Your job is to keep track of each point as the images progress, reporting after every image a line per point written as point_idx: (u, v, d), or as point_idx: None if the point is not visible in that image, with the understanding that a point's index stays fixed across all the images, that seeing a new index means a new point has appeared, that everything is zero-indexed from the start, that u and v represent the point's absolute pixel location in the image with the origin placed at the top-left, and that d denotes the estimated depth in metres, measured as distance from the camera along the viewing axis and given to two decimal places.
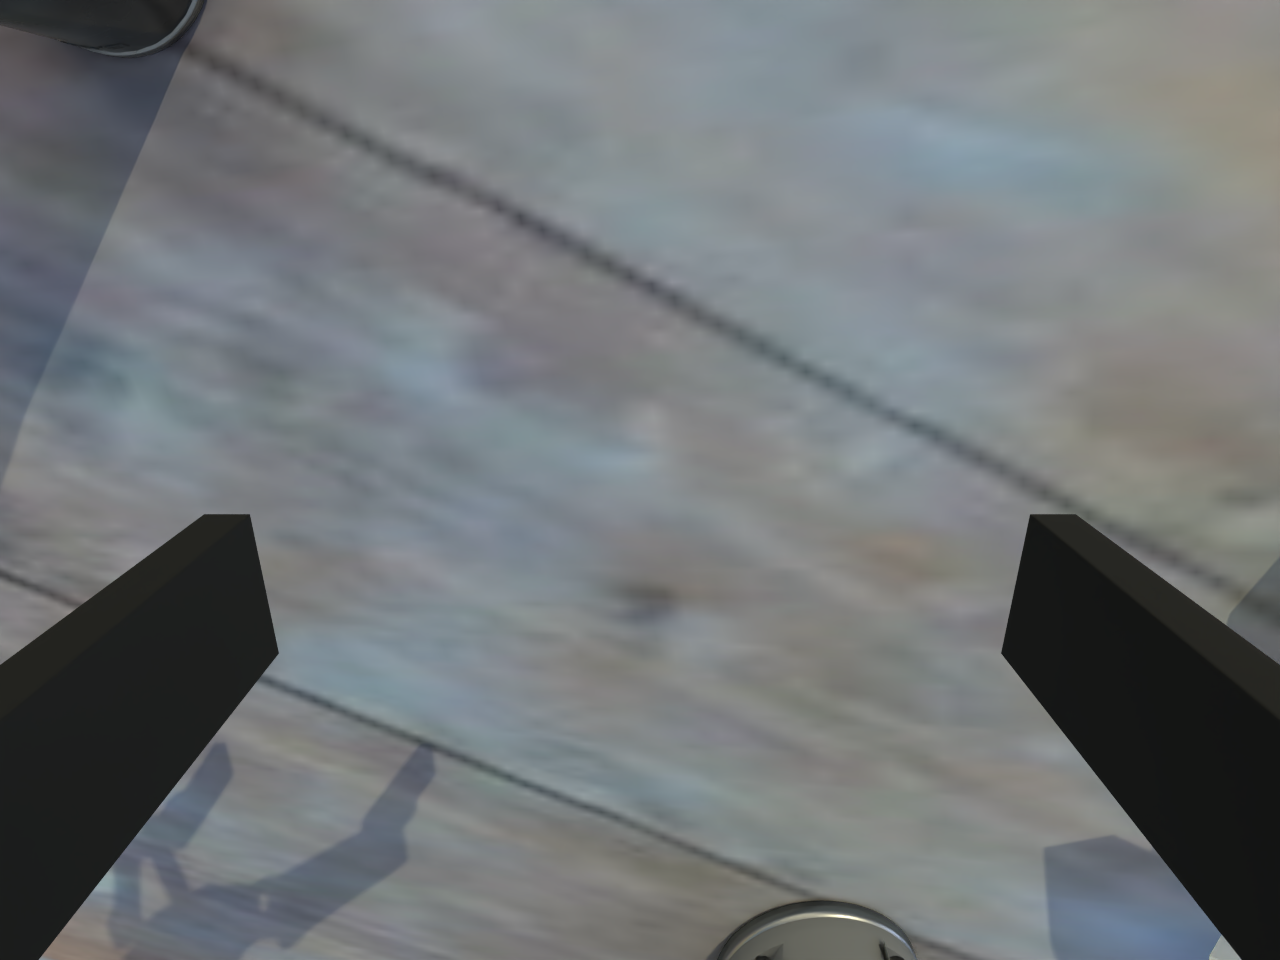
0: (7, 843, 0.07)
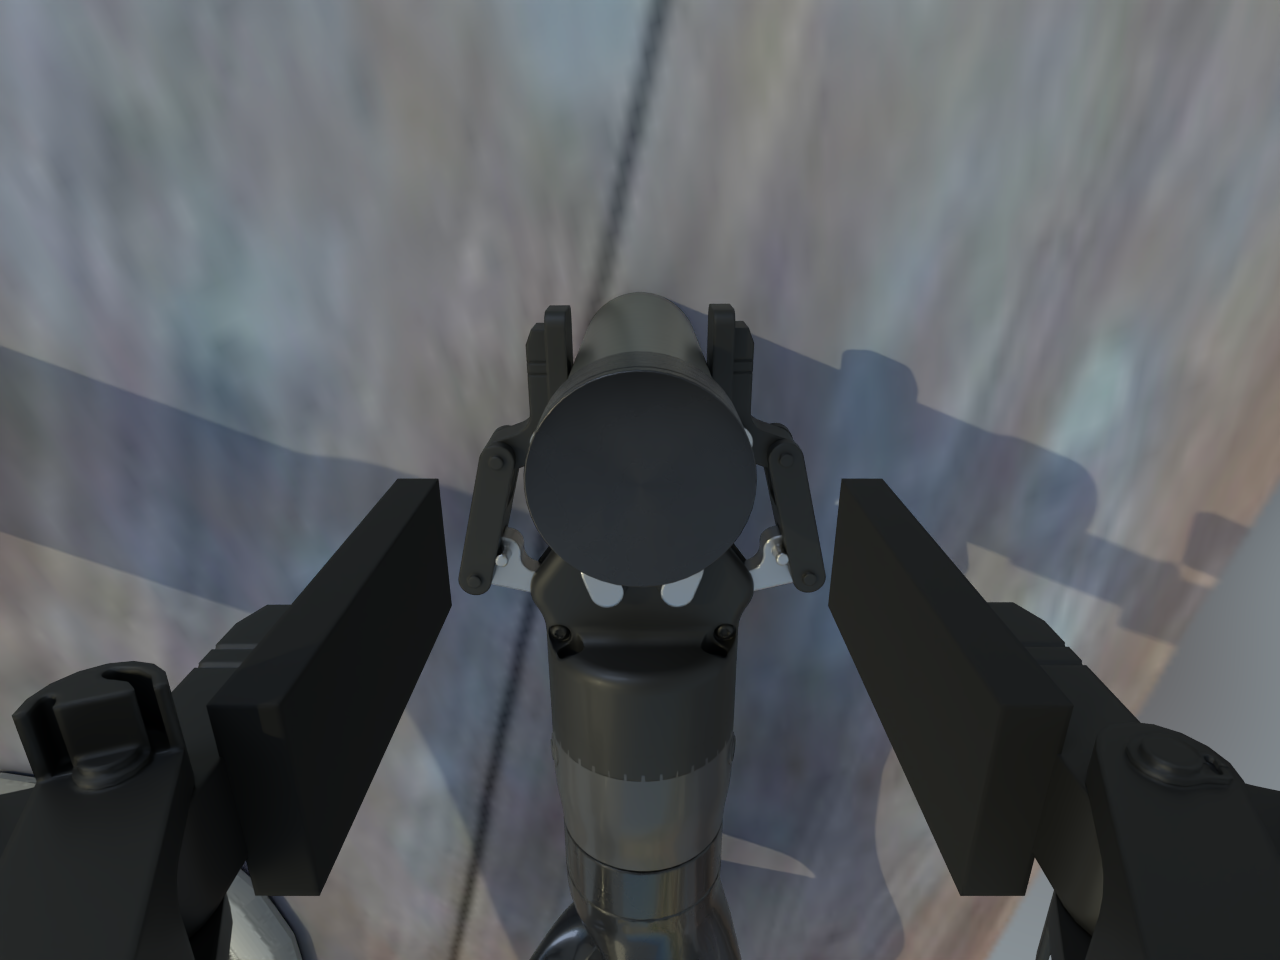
0: (334, 733, 0.09)
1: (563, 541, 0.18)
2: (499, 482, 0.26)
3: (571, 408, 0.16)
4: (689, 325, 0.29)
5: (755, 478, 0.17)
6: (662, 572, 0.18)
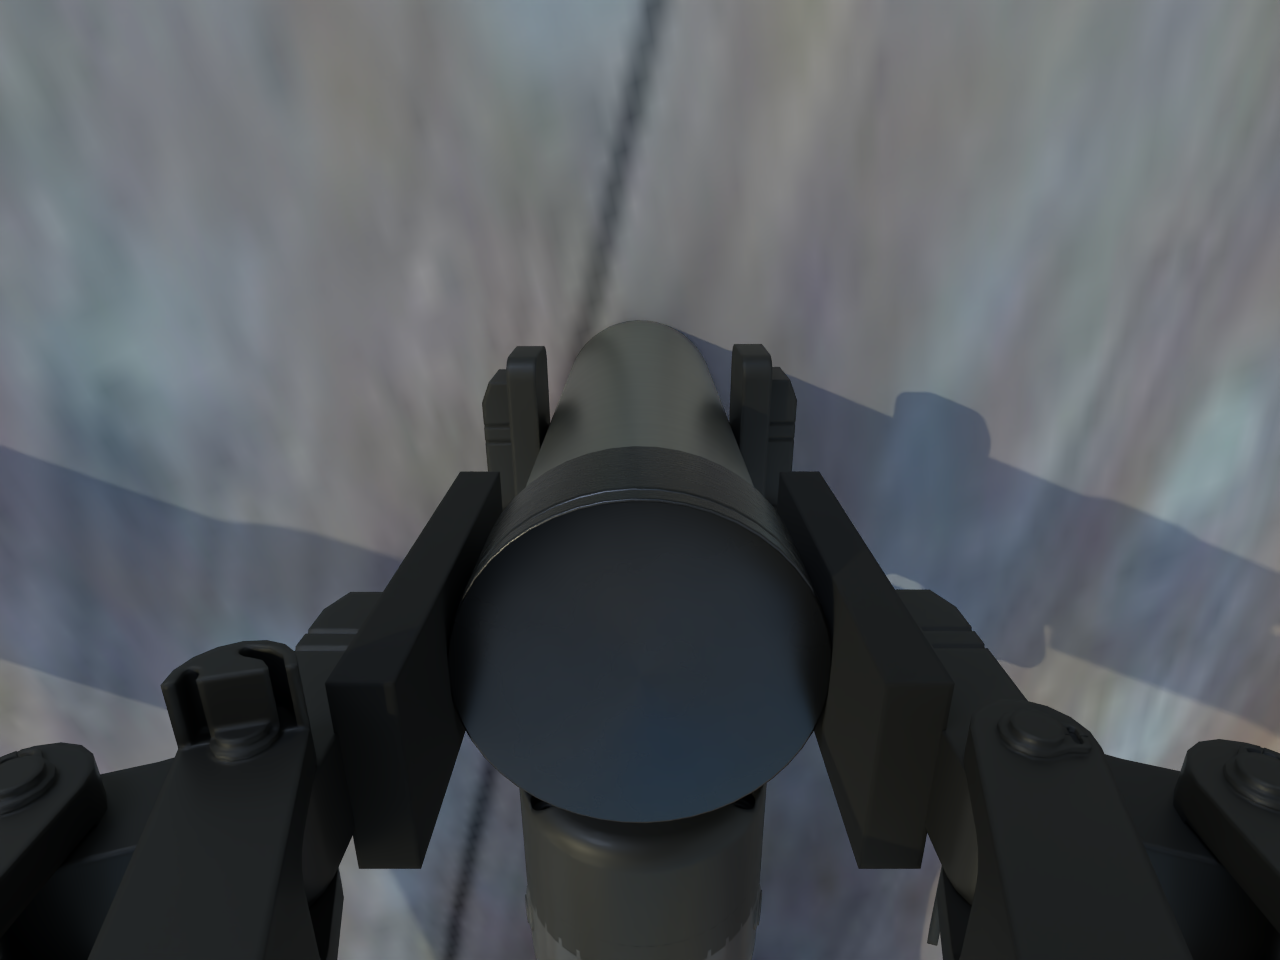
0: (431, 713, 0.09)
1: (515, 759, 0.11)
2: None
3: (522, 559, 0.10)
4: (704, 366, 0.22)
5: (830, 666, 0.10)
6: (675, 802, 0.11)
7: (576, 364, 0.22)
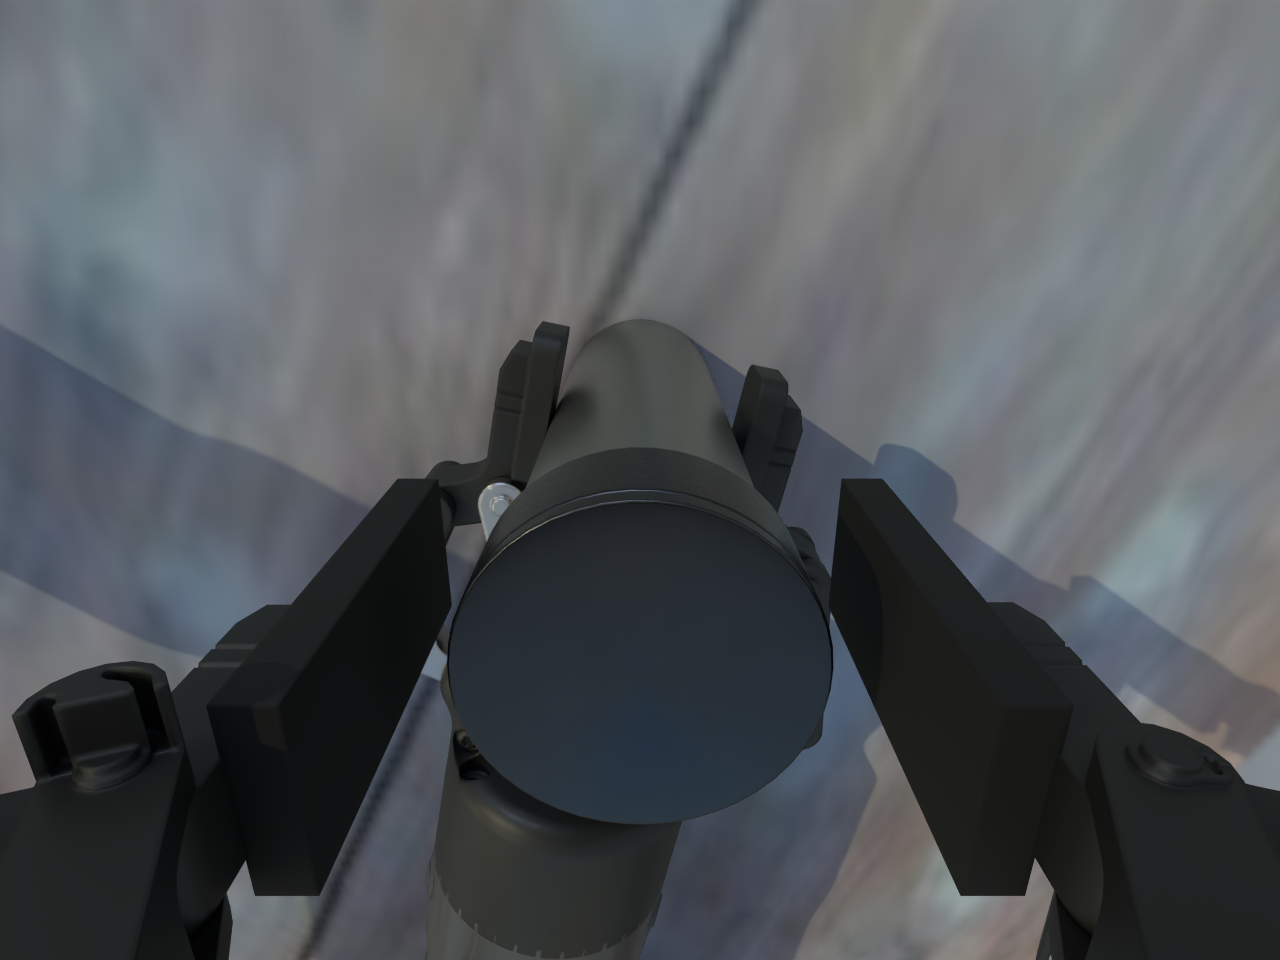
0: (334, 734, 0.09)
1: (738, 780, 0.11)
2: None
3: (516, 765, 0.11)
4: None
5: (624, 503, 0.09)
6: (805, 644, 0.10)
7: (589, 350, 0.22)
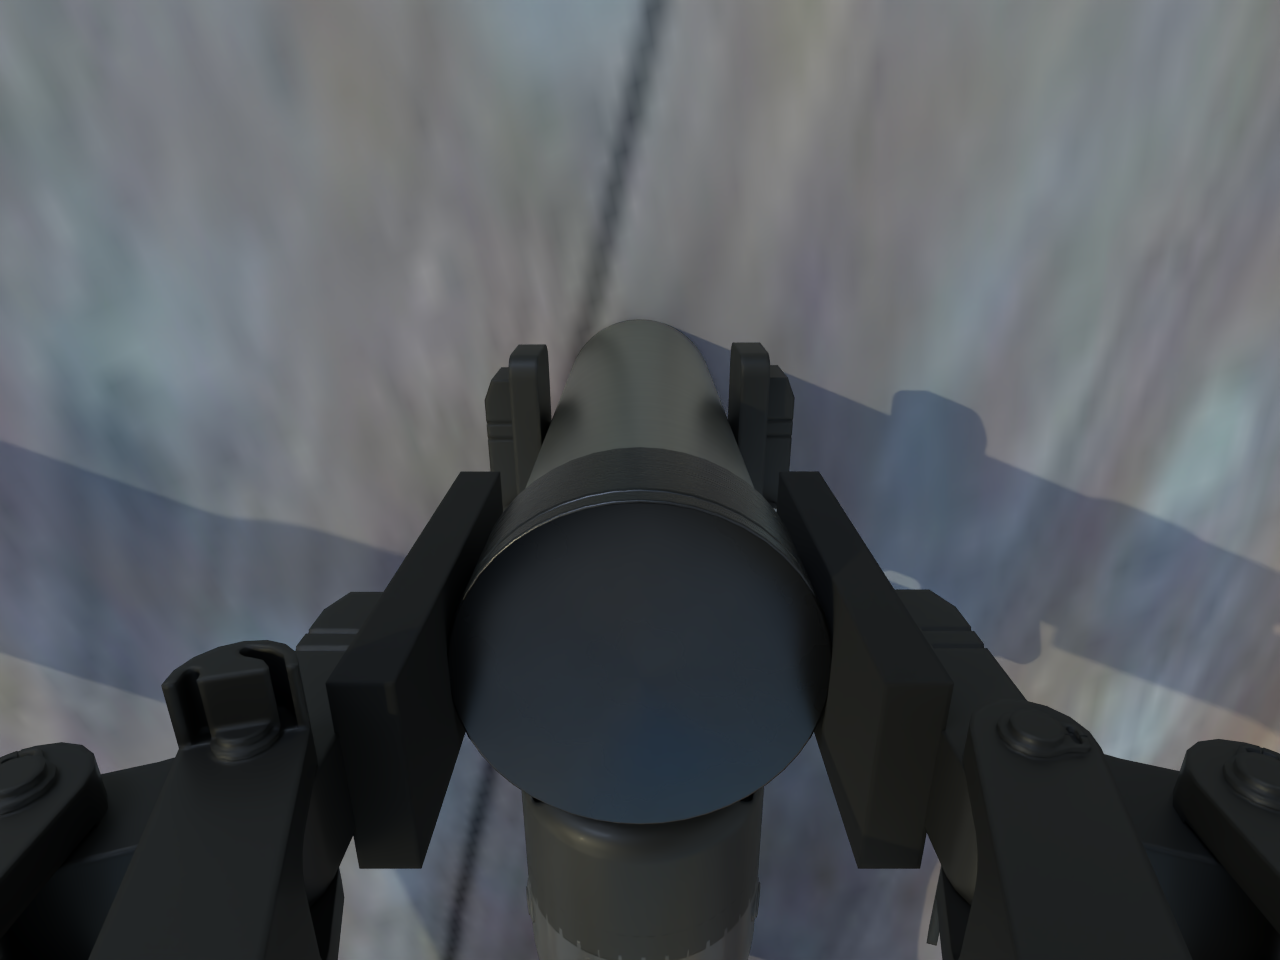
0: (431, 713, 0.09)
1: (762, 761, 0.11)
2: None
3: (542, 784, 0.11)
4: (703, 364, 0.22)
5: (580, 510, 0.09)
6: (795, 614, 0.10)
7: (577, 362, 0.22)
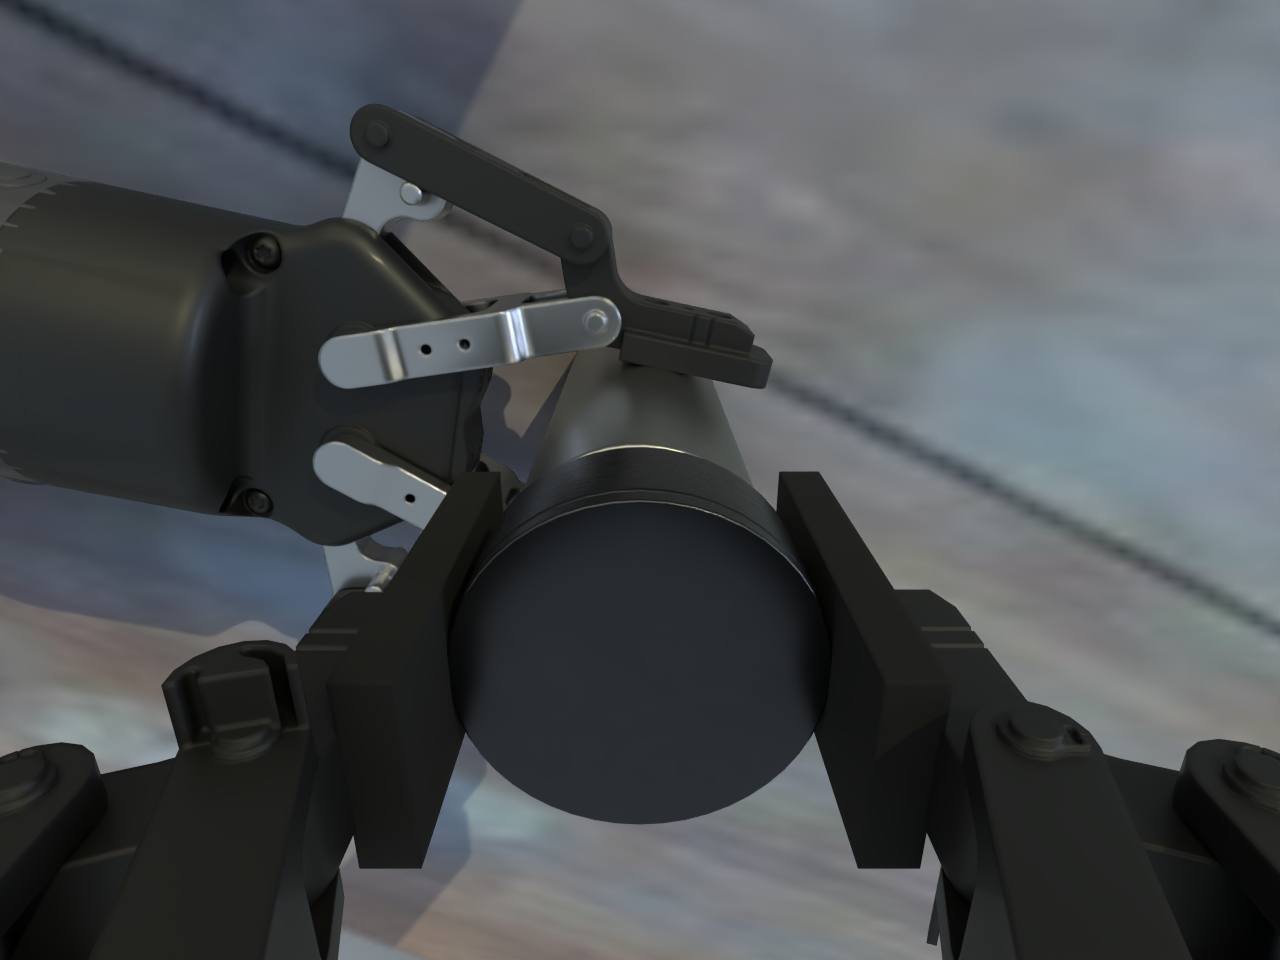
0: (431, 713, 0.09)
1: (762, 761, 0.11)
2: (548, 232, 0.16)
3: (542, 784, 0.11)
4: None
5: (580, 510, 0.09)
6: (795, 614, 0.10)
7: None
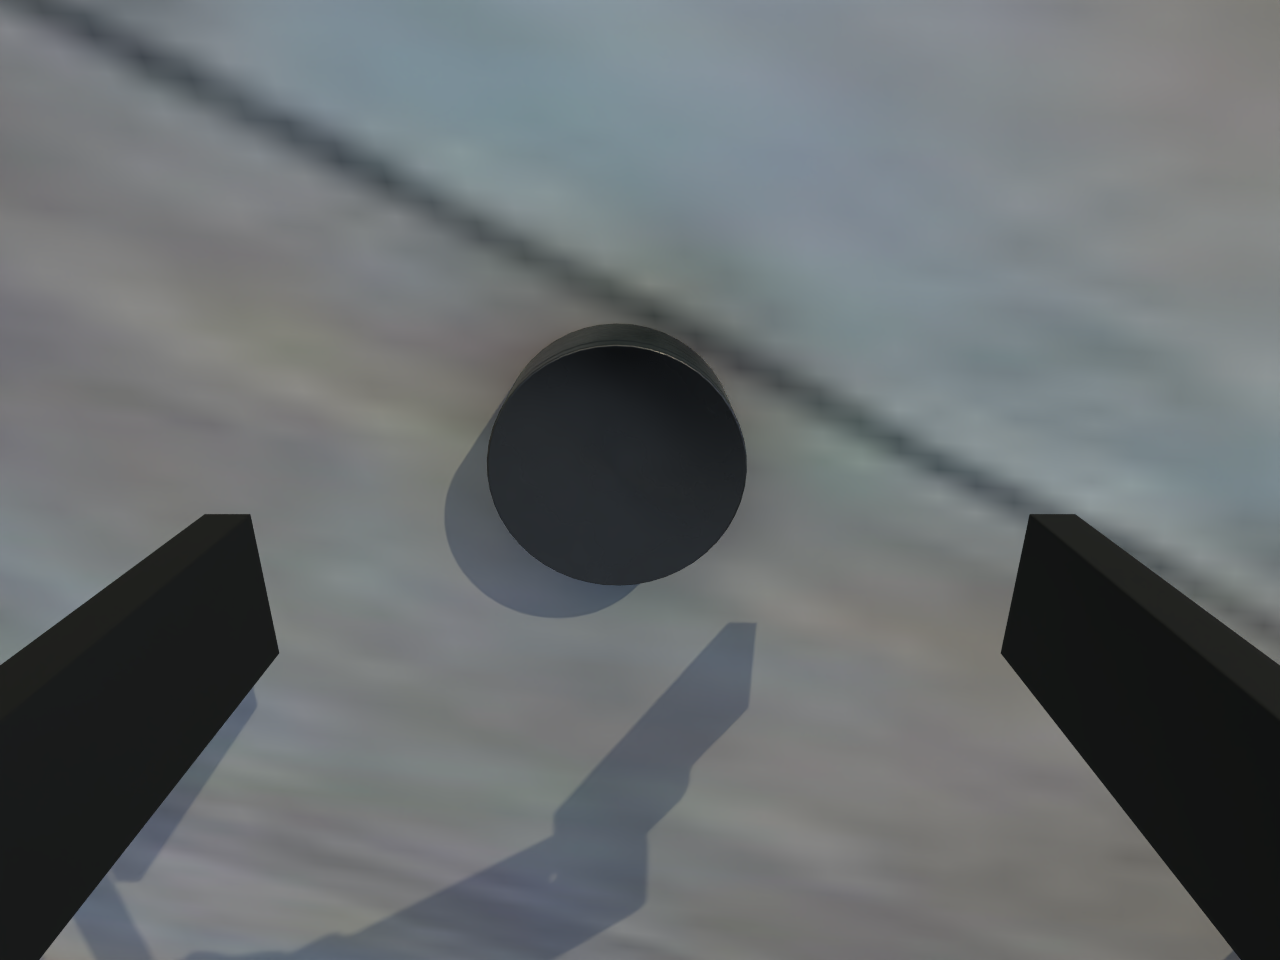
0: (8, 842, 0.08)
1: (702, 535, 0.16)
2: None
3: (552, 554, 0.16)
4: None
5: (576, 351, 0.14)
6: (719, 425, 0.15)
7: None
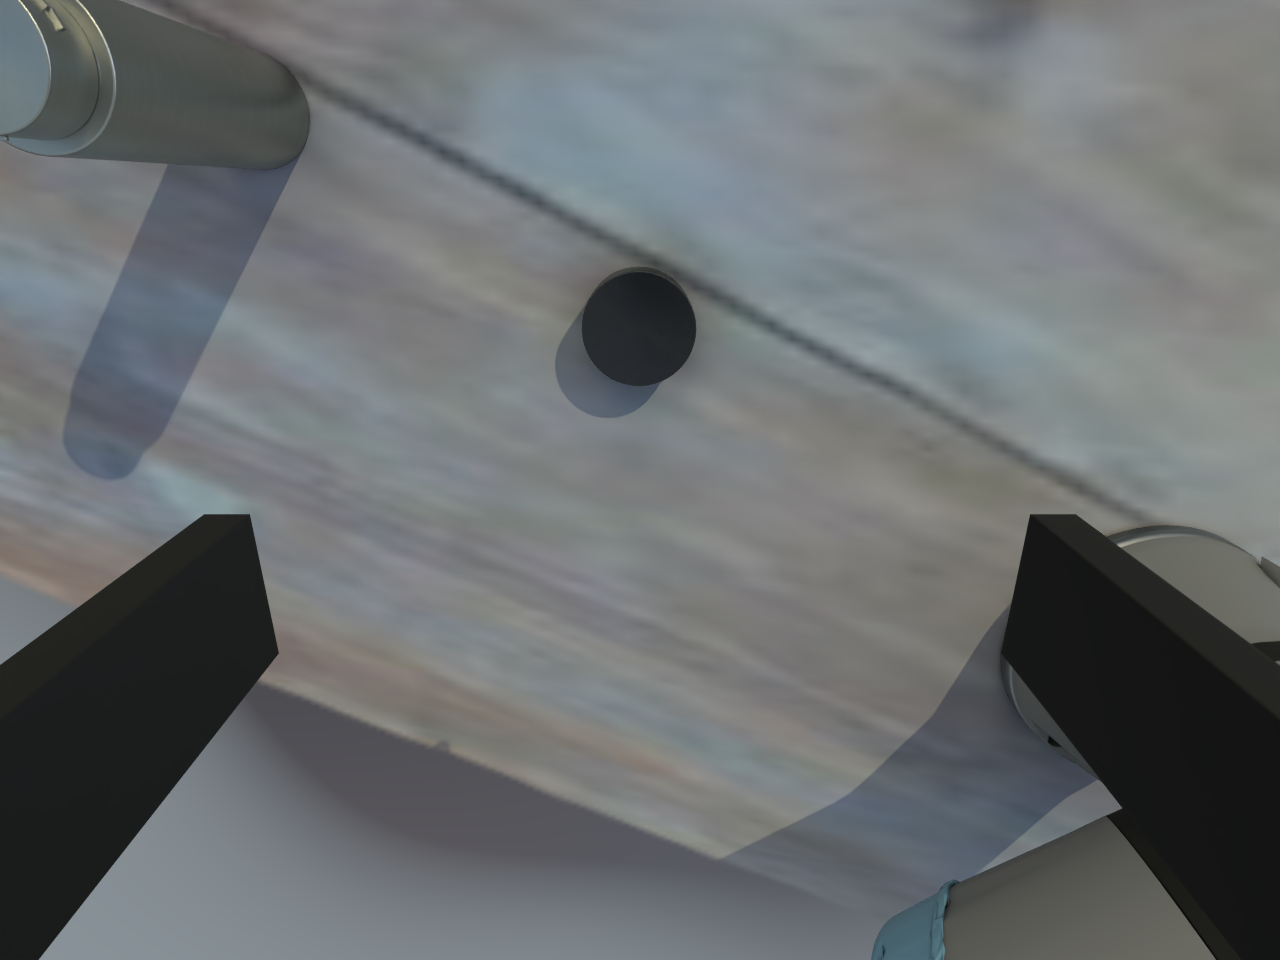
0: (6, 843, 0.07)
1: (676, 360, 0.35)
2: None
3: (609, 369, 0.36)
4: (260, 162, 0.32)
5: (622, 274, 0.34)
6: (683, 307, 0.34)
7: (266, 65, 0.31)
